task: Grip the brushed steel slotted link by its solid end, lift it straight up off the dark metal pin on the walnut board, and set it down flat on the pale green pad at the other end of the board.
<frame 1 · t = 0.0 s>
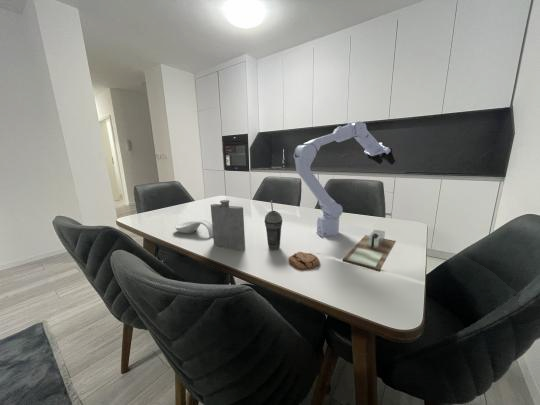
hand: (387, 162, 103), 32 cm above the table, tool tilted 50°, fingers open, 7 cm apart
beverage cup: (274, 248, 91), on the table
white curved piece: (196, 233, 111), on the table
hip flask: (228, 247, 94), on the table
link: (375, 243, 90), point 1 cm above the table, touching stand
stand: (371, 251, 85), on the table
cookie: (303, 263, 78), on the table
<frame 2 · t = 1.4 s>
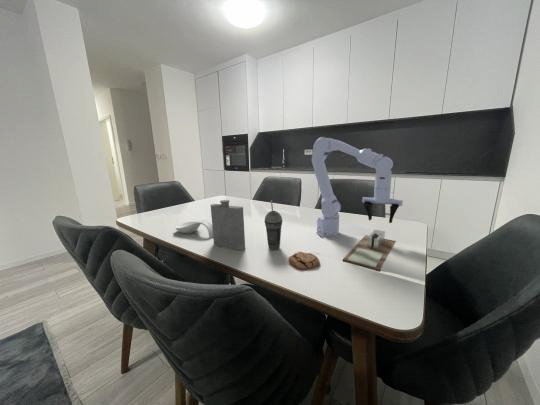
hand: (380, 221, 91), 10 cm above the table, tool pointing down, fingers open, 7 cm apart
nothing on the table moved.
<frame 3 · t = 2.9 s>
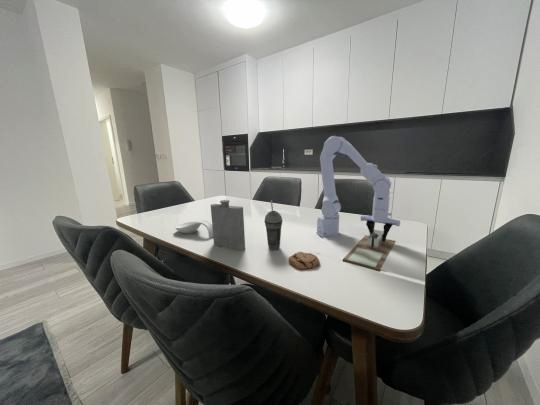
hand: (378, 239, 92), 2 cm above the table, tool pointing down, fingers closed on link, 4 cm apart
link: (375, 243, 90), point 1 cm above the table, touching gripper, stand
everything else where it was.
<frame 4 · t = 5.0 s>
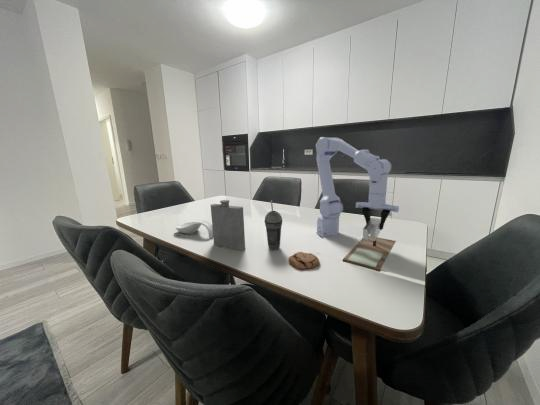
hand: (374, 227, 85), 9 cm above the table, tool pointing down, fingers closed on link, 4 cm apart
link: (372, 233, 83), point 8 cm above the table, tilted 7°, touching gripper
everything else where it was.
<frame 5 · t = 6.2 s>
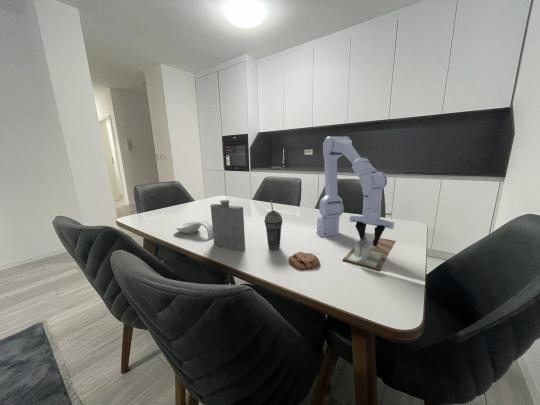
hand: (369, 243, 80), 5 cm above the table, tool pointing down, fingers closed on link, 4 cm apart
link: (366, 250, 79), point 3 cm above the table, tilted 8°, touching gripper
when the fingers open (3 cm above the table, at t = 7.0 s): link stays where it is, resting on stand.
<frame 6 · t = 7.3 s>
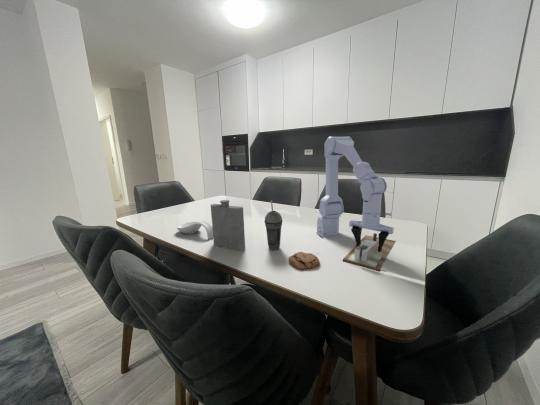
hand: (368, 248, 81), 3 cm above the table, tool pointing down, fingers open, 7 cm apart
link: (365, 255, 79), point 1 cm above the table, touching stand
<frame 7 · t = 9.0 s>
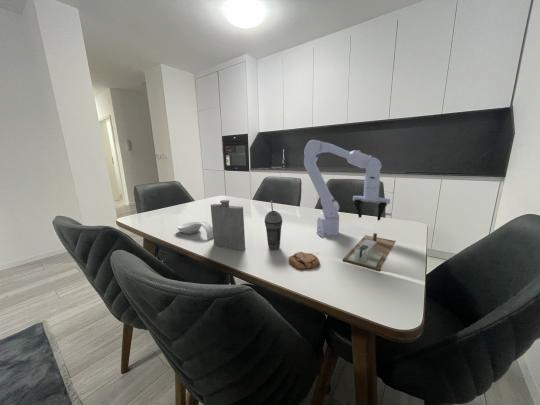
hand: (369, 218, 96), 9 cm above the table, tool pointing down, fingers open, 7 cm apart
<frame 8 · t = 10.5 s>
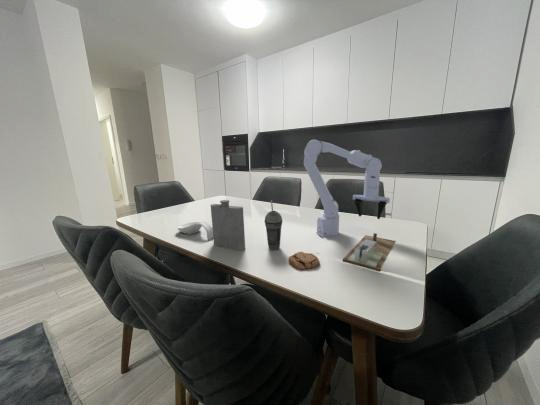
hand: (369, 217, 97), 9 cm above the table, tool pointing down, fingers open, 7 cm apart
at the end: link inside the target area on the stand (0.9 cm from its centre), point 1.2 cm above the stand's base; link tilted 0°; the gripper is holding nothing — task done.
